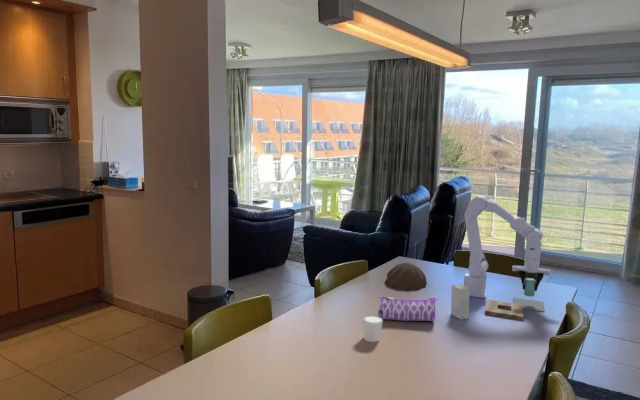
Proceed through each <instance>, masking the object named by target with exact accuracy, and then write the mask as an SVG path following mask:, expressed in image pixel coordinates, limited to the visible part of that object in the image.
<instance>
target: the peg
mask: <svg viewBox="0 0 640 400" xmlns="http://www.w3.org/2000/svg"><path fill="white" fill-rule="evenodd" d="M535 284H536V278H535V279H534V278H531V277H530V278H529V277H525V289H523V295H524V296H527V297H535V294H536V293H535V292H536V291H535Z"/></svg>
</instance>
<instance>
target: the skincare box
mask: <svg viewBox="0 0 640 400" xmlns="http://www.w3.org/2000/svg"><path fill="white" fill-rule="evenodd" d="M469 291H470V289H469V288H467V287H465V286H464V284H460V283H458V284H452V285H451V294H450V295H451V296H450V297H451V298H450V299H451V300H450V315H451V316H454V317H455V318H456V319H459V320H460V321H461V320H468V319H469V317H470V316H469V314H470V311H469V310H470V296H469Z"/></svg>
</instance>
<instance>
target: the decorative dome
mask: <svg viewBox="0 0 640 400" xmlns="http://www.w3.org/2000/svg"><path fill="white" fill-rule="evenodd" d="M384 283H385V284H387V285H389V287H391V288H395V289H396V288H397V289H399V290H403V291H404V290H412V291H417V290H419V289H426V287H427V286H426V285H428V282H427V277H426V275H425V273H424V272H423V269H421V268H420V267H418V266H416V265H415V264H413V263H409V262H401V263H398V264H396V265H395V266H394V267H392V268H391V269H390V270H389V271H388V272H387V274H386V280H385V281H384Z"/></svg>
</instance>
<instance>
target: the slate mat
mask: <svg viewBox="0 0 640 400" xmlns="http://www.w3.org/2000/svg"><path fill="white" fill-rule="evenodd" d="M512 303H515V304H521V305H523V310H527V311H534V312H539V313H545V312H546V311H545V306H544V305H545V304H544V301H541V300H532V299H525V298H519V297H512Z"/></svg>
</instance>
